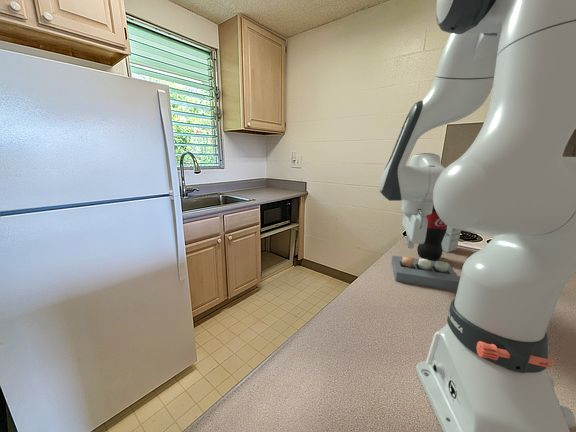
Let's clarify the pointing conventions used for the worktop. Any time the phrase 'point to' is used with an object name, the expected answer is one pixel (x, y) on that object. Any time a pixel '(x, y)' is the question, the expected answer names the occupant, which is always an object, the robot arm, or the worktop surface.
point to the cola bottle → (433, 237)
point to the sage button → (441, 266)
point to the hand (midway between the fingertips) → (409, 246)
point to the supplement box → (450, 239)
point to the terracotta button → (407, 261)
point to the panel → (425, 275)
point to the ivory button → (424, 263)
